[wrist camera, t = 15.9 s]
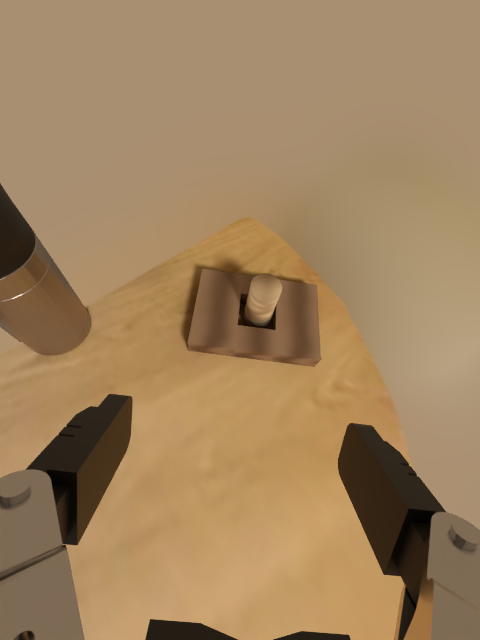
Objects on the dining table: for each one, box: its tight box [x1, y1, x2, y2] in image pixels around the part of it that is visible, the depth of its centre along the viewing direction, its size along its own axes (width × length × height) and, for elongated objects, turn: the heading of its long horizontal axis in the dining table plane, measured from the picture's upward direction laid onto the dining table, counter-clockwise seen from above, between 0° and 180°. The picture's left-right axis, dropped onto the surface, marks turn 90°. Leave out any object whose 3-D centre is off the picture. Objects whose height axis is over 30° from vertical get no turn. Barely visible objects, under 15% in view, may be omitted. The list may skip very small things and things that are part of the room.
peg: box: [244, 274, 282, 328], centre depth 44 cm, size 5×5×10 cm
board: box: [188, 268, 321, 367], centre depth 47 cm, size 20×14×3 cm
